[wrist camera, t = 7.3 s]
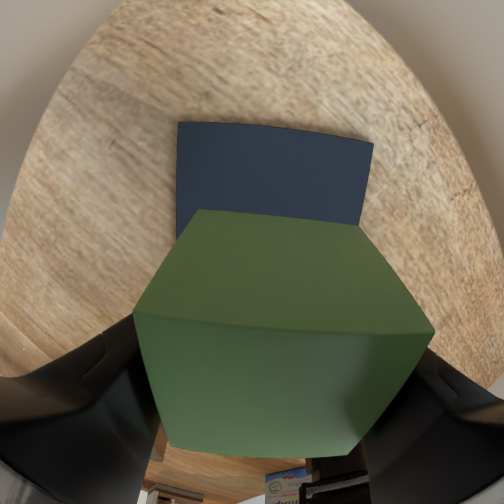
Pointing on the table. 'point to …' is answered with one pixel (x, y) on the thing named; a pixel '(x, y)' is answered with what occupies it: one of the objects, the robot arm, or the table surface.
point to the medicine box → (285, 486)
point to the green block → (275, 336)
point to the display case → (171, 496)
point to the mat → (269, 172)
